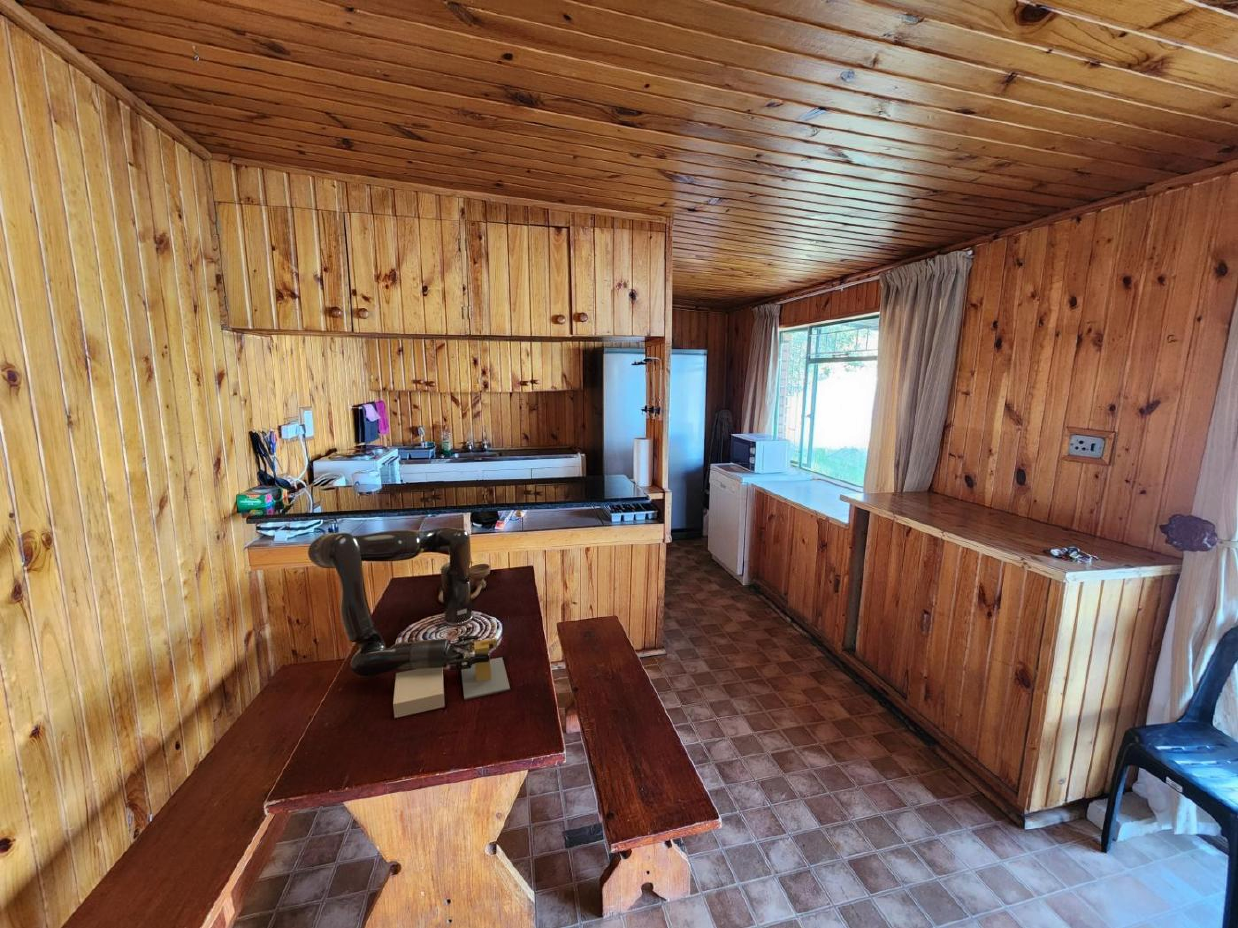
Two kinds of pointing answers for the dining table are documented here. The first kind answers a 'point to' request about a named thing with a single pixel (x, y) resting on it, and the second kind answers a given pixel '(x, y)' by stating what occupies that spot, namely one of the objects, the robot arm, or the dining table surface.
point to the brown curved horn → (475, 573)
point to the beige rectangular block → (418, 691)
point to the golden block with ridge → (483, 667)
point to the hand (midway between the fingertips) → (491, 650)
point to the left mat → (487, 686)
